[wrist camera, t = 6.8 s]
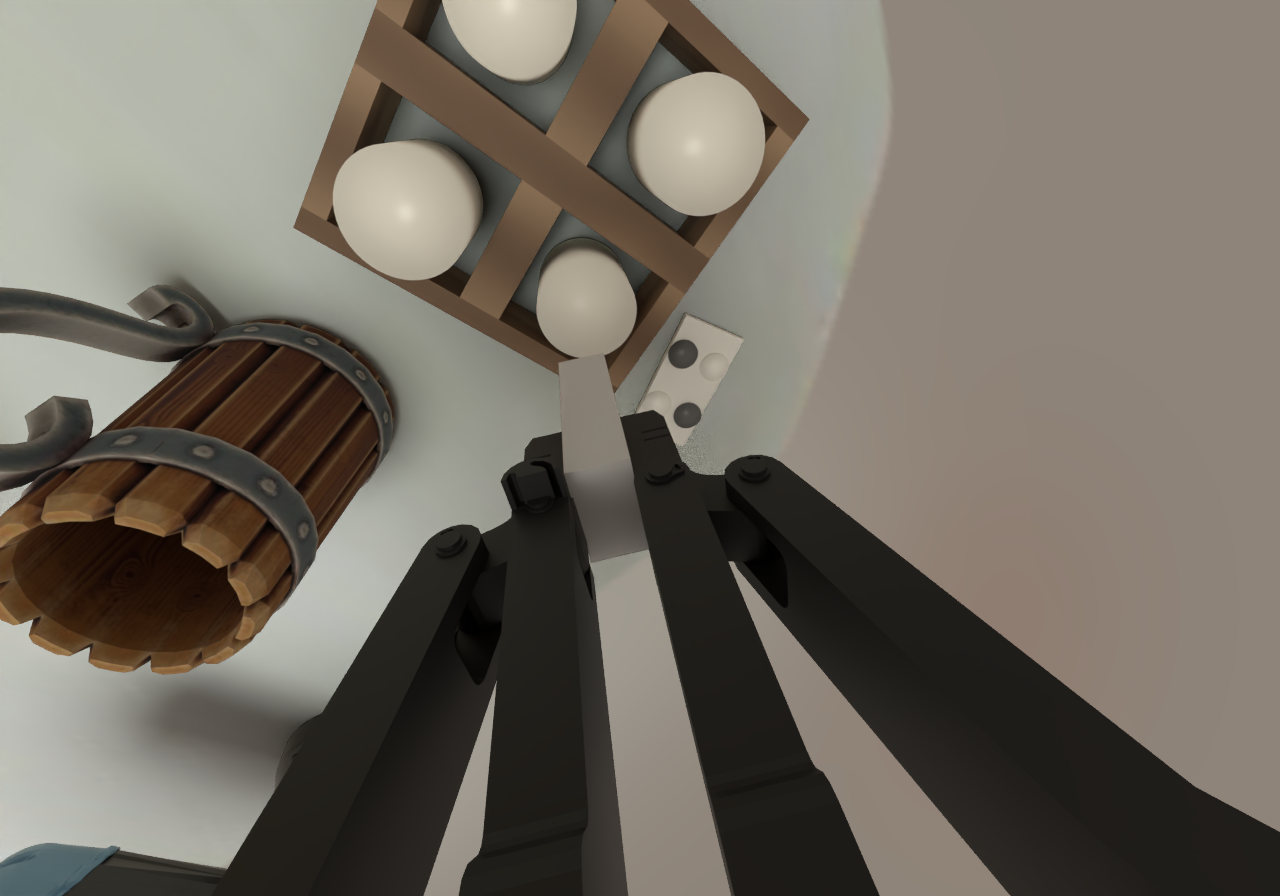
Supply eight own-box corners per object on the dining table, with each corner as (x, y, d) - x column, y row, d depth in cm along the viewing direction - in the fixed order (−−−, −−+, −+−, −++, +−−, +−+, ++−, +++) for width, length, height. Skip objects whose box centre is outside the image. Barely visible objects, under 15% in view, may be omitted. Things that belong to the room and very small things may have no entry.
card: (682, 443, 36) (684, 447, 35) (628, 424, 34) (629, 429, 34) (742, 337, 32) (745, 340, 32) (685, 313, 31) (687, 315, 30)
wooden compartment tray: (602, 372, 32) (608, 402, 29) (327, 213, 26) (293, 227, 23) (777, 119, 26) (809, 119, 23) (477, -167, 20) (461, -225, 17)
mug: (437, 426, 33) (362, 620, 20) (304, 504, 34) (158, 729, 22) (210, 180, 25) (-155, 244, 12) (51, 297, 26) (-418, 462, 14)
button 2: (595, 339, 30) (602, 374, 26) (523, 295, 29) (517, 326, 24) (641, 270, 29) (656, 296, 24) (567, 219, 27) (570, 238, 23)
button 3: (539, 109, 24) (535, 106, 20) (443, 34, 22) (416, 15, 18) (593, 4, 23) (601, -23, 18) (494, -85, 21) (478, -138, 17)
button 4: (686, 220, 25) (713, 240, 21) (607, 158, 24) (618, 166, 19) (748, 128, 24) (790, 130, 20) (667, 54, 22) (694, 38, 18)
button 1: (455, 272, 25) (435, 303, 21) (357, 214, 23) (313, 234, 19) (501, 183, 24) (489, 197, 19) (399, 113, 22) (361, 111, 18)
